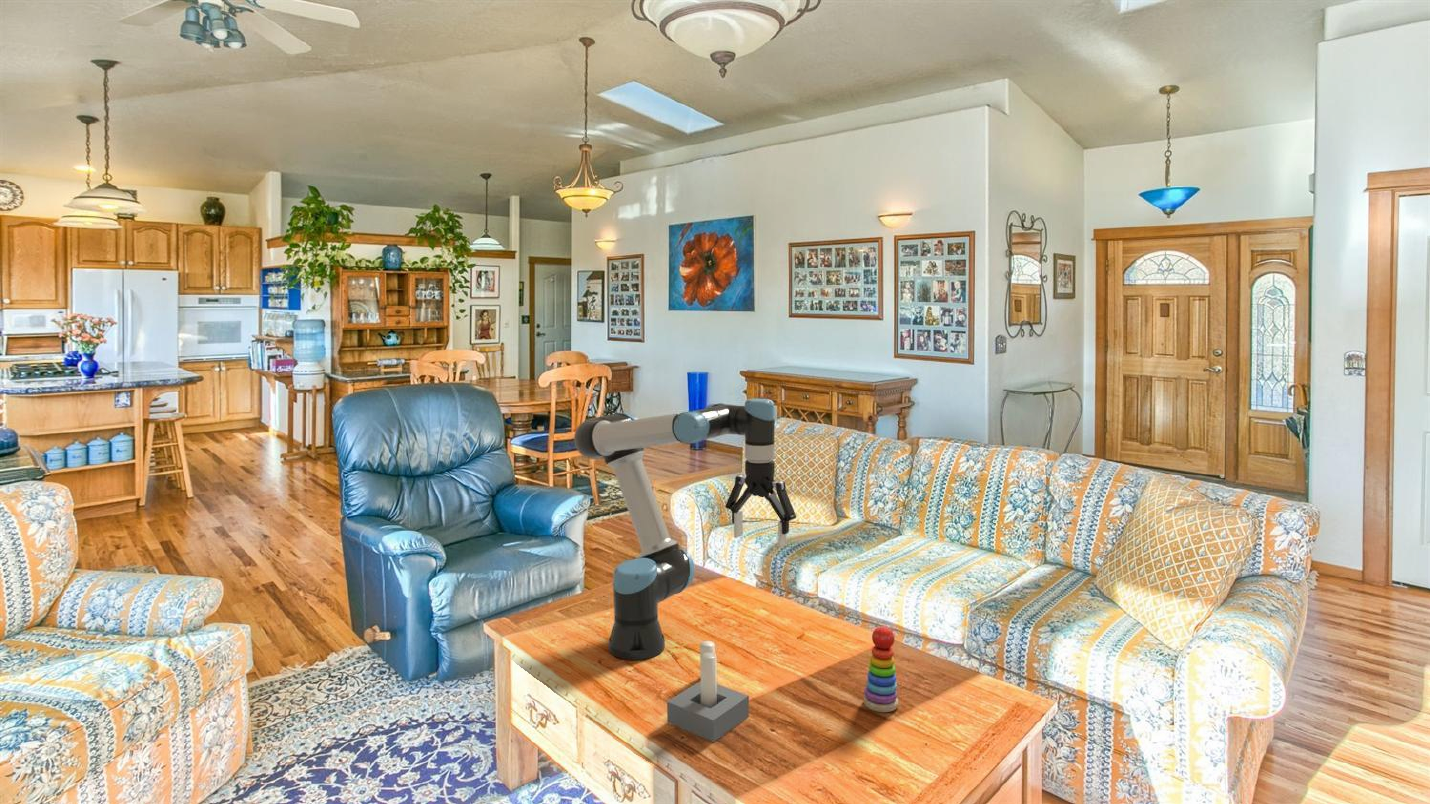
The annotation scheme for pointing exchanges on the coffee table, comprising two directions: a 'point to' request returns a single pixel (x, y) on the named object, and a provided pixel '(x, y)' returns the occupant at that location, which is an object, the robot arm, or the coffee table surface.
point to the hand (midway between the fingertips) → (759, 541)
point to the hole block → (708, 712)
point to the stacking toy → (881, 673)
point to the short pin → (707, 647)
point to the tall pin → (708, 679)
